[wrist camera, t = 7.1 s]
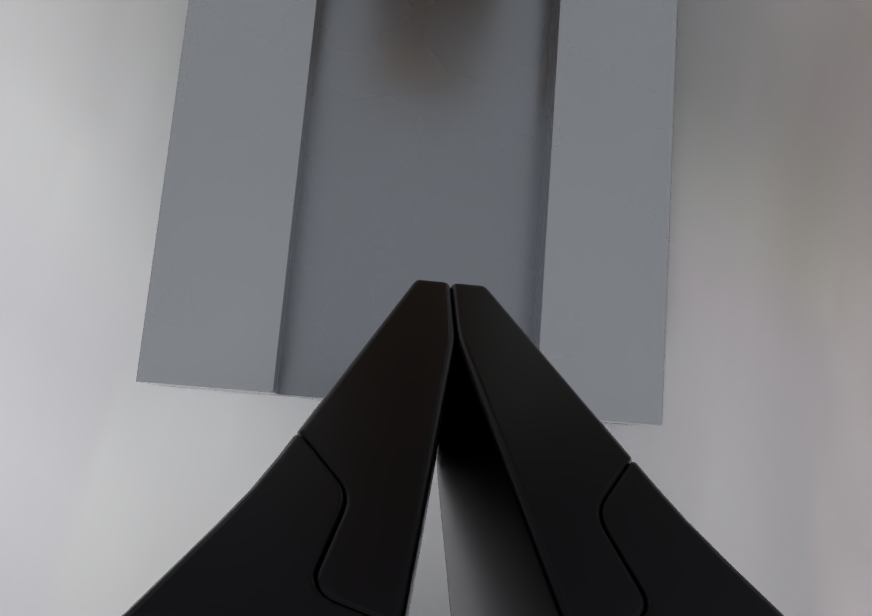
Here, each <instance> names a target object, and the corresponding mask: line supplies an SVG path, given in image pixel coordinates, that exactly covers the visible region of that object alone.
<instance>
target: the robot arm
mask: <svg viewBox="0 0 872 616" xmlns="http://www.w3.org/2000/svg"><path fill="white" fill-rule="evenodd" d="M436 456H437V473H438V486H439V497H440V507H441V518H442V528H443V539H444V549H445V559H446V570H447V580H448V591H449V601H450V612H451V616H784V615H783V614H781V613H780V612H779V611H778V610H777V609H776V608H775V607H774V606H773V605H772V604H771V603H770V602H769V601H768V600H767V599H766V598H765V597H764V596H763V595H762V594H761V593H760V592H759V591H758V590H757V589H756V588H755V587H753V586H752V585H751V584H750V583H749V582H748V581H747V580H746V579H745V578H744V577H743V576H742V575H741V574H740V573H739V572H738V571H737V570H736V569H735V568H734V567H733V566H732V565H731V564H730V563H729V562H728V561H726V560H725V559H724V558H723V557H722V556H721V555H720V553H719V552H718V551H717V550H716V549H715V548H714V547H713V546H712V545H711V544H710V543H709V542H708V541H707V540H706V539H705V538H704V537H703V536H702V535H701V534H700V533H699V532H698V531H697V530H696V529H695V528H694V527H693V526H692V525H691V524H690V523H689V522H688V521H687V520H686V519H685V518H684V517H683V516H682V515H681V514H680V512H679V511H678V510H677V509H676V508H675V507H674V506H673V505H672V504H671V502H670V501H669V500H668V499H667V498H666V497H665V496H664V495H663V494H662V492H661V491H660V490H659V489H658V488H657V487H656V486H655V485H654V483H653V482H652V481H651V480H650V479H649V478H648V476H647V475H646V474H645V473H644V472H643V471H642V469H641V468H640V467H639V466H638V465H637V464H636V463H635V462H631V457H630V456H629V454H628V453H627V452H626V451H625V450H624V449H623V447H622V446H621V445H620V444H619V443H618V442H617V440H616V439H615V438H614V437H613V436H612V435H611V433H610V432H609V431H608V430H607V429H606V427H605V426H604V425H603V424H602V423H601V422H600V420H599V419H598V418H597V417H596V416H595V415H594V413H593V412H592V411H591V410H590V409H589V408H588V406H587V405H586V404H585V403H584V402H583V400H582V399H581V398H580V397H579V396H578V395H577V393H576V392H575V391H574V390H573V389H572V388H571V386H570V385H569V384H568V383H567V382H566V381H565V379H564V378H563V377H562V376H561V375H560V373H559V372H558V371H557V370H556V369H555V368H554V366H553V365H552V364H551V363H550V362H549V361H548V359H547V358H546V357H545V356H544V355H543V353H542V352H541V351H540V350H539V349H538V348H537V346H536V345H535V344H534V343H533V342H532V341H531V339H530V338H529V337H528V336H527V335H526V334H525V332H524V331H523V330H522V329H521V328H520V326H519V325H518V324H517V323H516V322H515V321H514V319H513V318H512V317H511V316H510V315H509V314H508V312H507V311H506V310H505V309H504V308H503V307H502V305H501V304H500V303H499V302H498V301H497V299H496V298H495V297H494V296H493V295H492V294H491V292H490V291H489V290H488V289H487V288H486V287H484V286H480V285H469V284H453V285H452V286H451V288H450V286H449V284H447V283H445V282H437V281H427V280H417V281H415V282H414V283H413V284H412V286H411V287H410V288H409V289H408V291H407V292H406V293H405V295H404V296H403V297H402V298H401V300H400V301H399V302H398V304H397V305H396V306H395V307H394V309H393V310H392V311H391V313H390V314H389V315H388V316H387V318H386V319H385V320H384V322H383V323H382V324H381V325H380V327H379V328H378V329H377V331H376V332H375V333H374V335H373V336H372V337H371V338H370V340H369V341H368V342H367V344H366V345H365V346H364V347H363V349H362V350H361V351H360V353H359V354H358V355H357V356H356V358H355V359H354V360H353V362H352V363H351V364H350V365H349V367H348V368H347V369H346V371H345V372H344V373H343V374H342V376H341V377H340V378H339V380H338V381H337V382H336V383H335V385H334V386H333V387H332V389H331V390H330V391H329V392H328V394H327V395H326V396H325V398H324V399H323V400H322V401H321V403H320V404H319V405H318V407H317V408H316V409H315V410H314V412H313V413H312V414H311V416H310V417H309V418H308V419H307V421H306V422H305V423H304V425H303V426H302V427H301V428H300V430H299V431H298V434H297V435H296V436H294V437H293V438H292V440H291V441H290V442H289V443H288V445H287V446H286V447H285V449H284V450H283V451H282V452H281V454H280V455H279V456H278V458H277V459H276V460H275V461H274V462H273V464H272V465H271V466H270V467H269V468H268V469H267V471H266V472H265V473H264V474H263V475H262V477H261V478H260V479H259V480H258V481H257V483H256V484H255V485H254V486H253V487H252V488H251V490H250V491H249V492H248V493H247V494H246V495H245V496H244V497H243V498H242V499H241V500H240V501H239V502H238V503H237V504H236V505H235V506H234V507H233V508H232V509H231V510H230V511H229V512H228V513H227V514H226V515H225V516H224V517H223V518H222V519H221V520H220V521H219V522H218V524H217V525H216V526H214V527H213V528H212V529H211V530H210V531H209V532H208V533H207V534H206V535H205V536H204V537H203V538H202V539H201V540H200V541H199V542H198V543H197V544H196V545H195V546H194V547H193V548H192V549H191V550H190V551H189V552H188V553H187V554H186V555H185V556H183V557H182V558H181V559H180V560H179V561H178V562H177V563H176V564H175V565H174V566H173V567H172V568H171V569H170V570H169V571H168V572H167V573H166V574H165V575H164V576H163V577H162V578H161V579H160V580H159V581H158V582H157V583H156V584H155V585H154V586H152V587H151V588H150V589H149V590H148V591H147V592H146V593H145V594H144V595H143V596H142V597H141V598H140V599H139V600H138V601H137V602H136V603H135V604H134V605H133V606H132V607H131V608H130V609H129V610H128V611H127V612H126V613H125V614H123V615H122V616H408V614H409V608H410V603H411V597H412V592H413V586H414V580H415V575H416V569H417V563H418V558H419V552H420V547H421V541H422V535H423V530H424V524H425V518H426V513H427V507H428V502H429V496H430V490H431V485H432V479H433V473H434V467H435V461H436Z"/></svg>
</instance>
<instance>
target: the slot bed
mask: <svg viewBox="0 0 872 616" xmlns="http://www.w3.org/2000/svg"><path fill="white" fill-rule="evenodd" d="M676 27H677V0H189V4H188V12H187V19H186V26H185V33H184V40H183V48H182V55H181V62H180V69H179V76H178V84H177V91H176V98H175V105H174V112H173V120H172V127H171V134H170V141H169V148H168V155H167V163H166V170H165V177H164V184H163V191H162V199H161V206H160V213H159V220H158V227H157V235H156V242H155V249H154V256H153V263H152V271H151V278H150V285H149V292H148V299H147V306H146V314H145V321H144V328H143V335H142V342H141V350H140V357H139V364H138V371H137V378H136V381H137V382H143V383H149V384H155V385H162V386H173V387H185V388H197V389H209V390H221V391H233V392H245V393H257V394H269V395H281V396H293V397H305V398H317V399H324V398H325V396H326V395H327V394H328V392H329V391H330V390H331V389H332V387H333V386H334V385H335V383H336V382H337V381H338V380H339V378H340V377H341V376H342V374H343V373H344V372H345V371H346V369H347V368H348V367H349V365H350V364H351V363H352V362H353V360H354V359H355V358H356V356H357V355H358V354H359V353H360V351H361V350H362V349H363V347H364V346H365V345H366V344H367V342H368V341H369V340H370V338H371V337H372V336H373V335H374V333H375V332H376V331H377V329H378V328H379V327H380V325H381V324H382V323H383V322H384V320H385V319H386V318H387V316H388V315H389V314H390V313H391V311H392V310H393V309H394V307H395V306H396V305H397V304H398V302H399V301H400V300H401V298H402V297H403V296H404V295H405V293H406V292H407V291H408V289H409V288H410V287H411V286H412V284H413V283H414V282H415V281H417V280H427V281H437V282H445V283H447V284H449V286H450V288H451V286H452V285H453V284H469V285H480V286H484V287H486V288H487V289H488V290H489V291H490V292H491V294H492V295H493V296H494V297H495V298H496V299H497V301H498V302H499V303H500V304H501V305H502V307H503V308H504V309H505V310H506V311H507V312H508V314H509V315H510V316H511V317H512V318H513V319H514V321H515V322H516V323H517V324H518V325H519V326H520V328H521V329H522V330H523V331H524V332H525V334H526V335H527V336H528V337H529V338H530V339H531V341H532V342H533V343H534V344H535V345H536V346H537V348H538V349H539V350H540V351H541V352H542V353H543V355H544V356H545V357H546V358H547V359H548V361H549V362H550V363H551V364H552V365H553V366H554V368H555V369H556V370H557V371H558V372H559V373H560V375H561V376H562V377H563V378H564V379H565V381H566V382H567V383H568V384H569V385H570V386H571V388H572V389H573V390H574V391H575V392H576V393H577V395H578V396H579V397H580V398H581V399H582V400H583V402H584V403H585V404H586V405H587V406H588V408H589V409H590V410H591V411H592V412H593V413H594V415H595V416H596V417H597V418H598V419H599V420H600V422H605V423H617V424H629V425H662V415H663V388H664V360H665V332H666V305H667V277H668V249H669V221H670V194H671V166H672V138H673V110H674V83H675V55H676Z"/></svg>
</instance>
